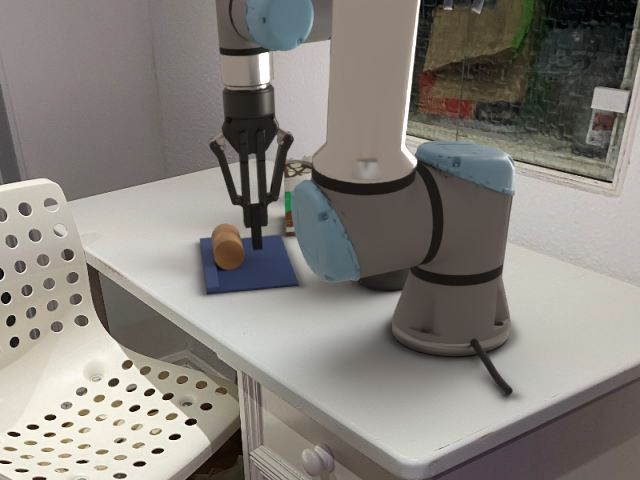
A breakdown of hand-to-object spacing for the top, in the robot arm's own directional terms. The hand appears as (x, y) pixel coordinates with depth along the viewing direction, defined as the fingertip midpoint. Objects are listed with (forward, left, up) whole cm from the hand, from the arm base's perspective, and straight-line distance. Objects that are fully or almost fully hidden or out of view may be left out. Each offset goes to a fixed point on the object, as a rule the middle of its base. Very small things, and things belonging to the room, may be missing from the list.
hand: (257, 246), depth 132 cm
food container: (+14, -10, -2) cm, 17 cm away
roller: (0, +5, 0) cm, 5 cm away
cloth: (-1, +2, -2) cm, 3 cm away
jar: (-13, -19, -2) cm, 23 cm away
